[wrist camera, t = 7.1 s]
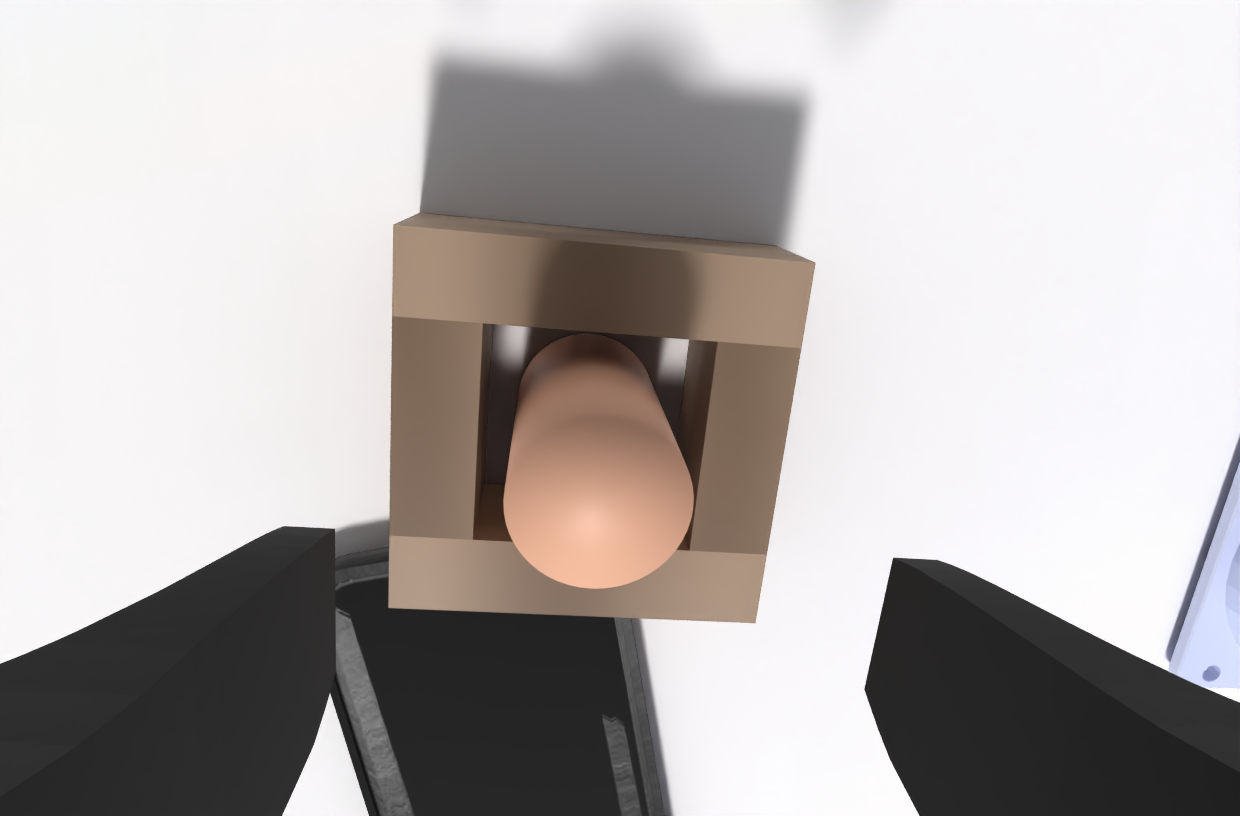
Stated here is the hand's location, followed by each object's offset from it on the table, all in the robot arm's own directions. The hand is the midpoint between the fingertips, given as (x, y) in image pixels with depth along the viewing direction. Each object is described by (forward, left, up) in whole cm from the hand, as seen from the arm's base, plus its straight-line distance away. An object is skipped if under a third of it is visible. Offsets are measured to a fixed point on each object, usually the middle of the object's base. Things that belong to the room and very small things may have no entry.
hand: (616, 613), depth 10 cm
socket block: (0, 0, -9) cm, 9 cm away
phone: (+1, +11, -10) cm, 15 cm away
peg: (0, 0, -9) cm, 9 cm away
